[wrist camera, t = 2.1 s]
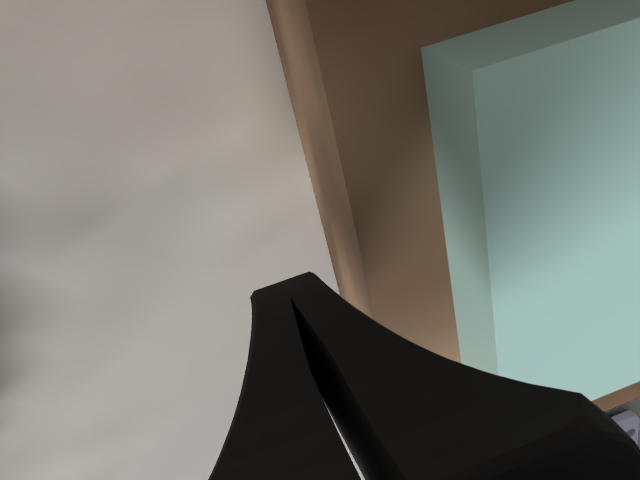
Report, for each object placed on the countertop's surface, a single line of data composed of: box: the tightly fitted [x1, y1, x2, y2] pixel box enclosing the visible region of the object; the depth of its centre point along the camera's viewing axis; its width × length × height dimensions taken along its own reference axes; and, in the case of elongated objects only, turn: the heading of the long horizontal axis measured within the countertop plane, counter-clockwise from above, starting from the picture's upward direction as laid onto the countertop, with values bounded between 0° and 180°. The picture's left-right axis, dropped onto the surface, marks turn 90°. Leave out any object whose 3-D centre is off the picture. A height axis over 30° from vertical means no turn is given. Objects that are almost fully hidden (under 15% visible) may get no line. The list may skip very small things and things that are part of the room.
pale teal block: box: [421, 0, 640, 401], centre depth 13 cm, size 9×6×2 cm, turn 12°
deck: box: [266, 0, 640, 412], centre depth 16 cm, size 15×12×4 cm
